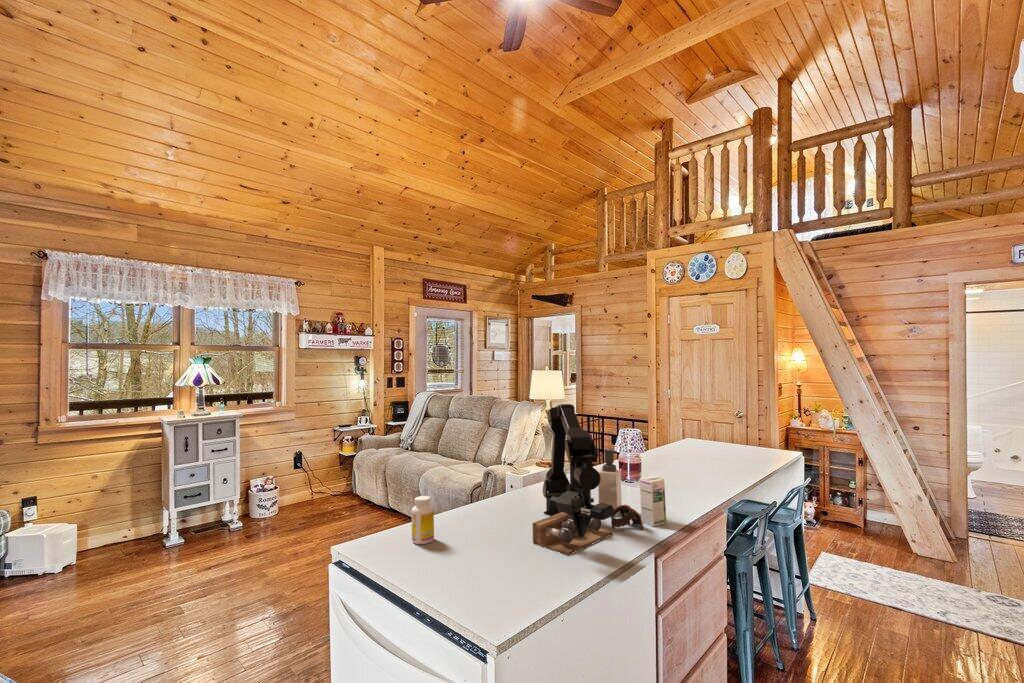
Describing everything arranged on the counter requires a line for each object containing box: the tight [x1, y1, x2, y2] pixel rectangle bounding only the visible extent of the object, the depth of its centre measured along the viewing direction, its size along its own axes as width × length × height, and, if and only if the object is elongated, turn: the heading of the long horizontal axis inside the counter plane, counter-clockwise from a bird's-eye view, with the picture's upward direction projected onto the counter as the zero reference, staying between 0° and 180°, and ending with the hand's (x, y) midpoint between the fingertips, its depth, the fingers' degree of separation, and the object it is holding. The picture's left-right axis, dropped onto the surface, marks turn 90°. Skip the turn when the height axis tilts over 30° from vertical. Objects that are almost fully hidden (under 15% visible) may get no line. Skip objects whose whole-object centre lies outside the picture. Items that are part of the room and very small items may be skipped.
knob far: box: [588, 518, 602, 531], centre depth 148 cm, size 8×4×4 cm, turn 45°
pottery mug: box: [610, 504, 644, 531], centre depth 153 cm, size 12×10×8 cm
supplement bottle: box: [411, 495, 435, 545], centre depth 144 cm, size 7×7×13 cm
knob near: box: [546, 527, 573, 544], centre depth 138 cm, size 8×4×4 cm, turn 45°
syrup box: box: [639, 476, 667, 528], centre depth 156 cm, size 6×6×14 cm
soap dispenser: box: [597, 448, 623, 517], centre depth 169 cm, size 6×9×22 cm
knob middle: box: [561, 519, 577, 534], centre depth 146 cm, size 8×4×4 cm, turn 45°
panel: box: [532, 512, 613, 556], centre depth 143 cm, size 13×22×6 cm, turn 135°
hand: (581, 537), depth 132 cm, fingers closed
